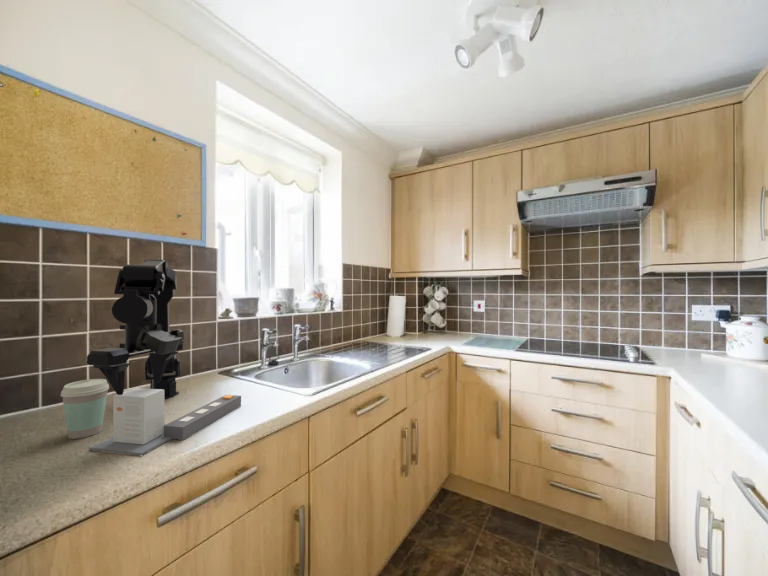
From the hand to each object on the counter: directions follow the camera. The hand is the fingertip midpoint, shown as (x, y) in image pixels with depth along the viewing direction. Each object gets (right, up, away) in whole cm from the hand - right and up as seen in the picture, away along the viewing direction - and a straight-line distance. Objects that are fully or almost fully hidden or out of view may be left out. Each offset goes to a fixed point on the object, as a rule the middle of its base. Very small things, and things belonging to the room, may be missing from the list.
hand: (139, 388), depth 72 cm
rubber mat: (0, -12, 0) cm, 12 cm away
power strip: (+9, -12, +12) cm, 19 cm away
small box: (0, -12, 0) cm, 12 cm away
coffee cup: (-16, -12, +4) cm, 20 cm away
